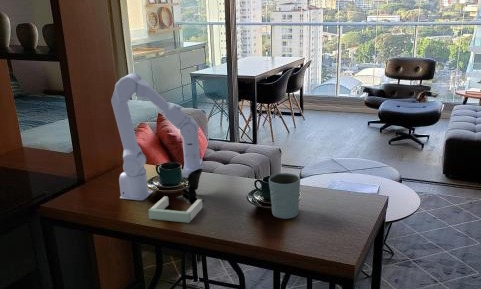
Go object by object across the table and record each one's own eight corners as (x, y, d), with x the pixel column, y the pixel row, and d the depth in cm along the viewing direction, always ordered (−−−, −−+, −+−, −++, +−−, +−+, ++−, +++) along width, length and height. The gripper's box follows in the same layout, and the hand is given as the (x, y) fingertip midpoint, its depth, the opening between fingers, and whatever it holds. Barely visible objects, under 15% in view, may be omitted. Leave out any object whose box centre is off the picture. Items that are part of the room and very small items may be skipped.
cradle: (149, 218, 152) (148, 210, 151) (164, 204, 162) (164, 196, 161) (189, 222, 148) (188, 214, 147) (202, 207, 158) (201, 199, 157)
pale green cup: (281, 222, 145) (281, 186, 142) (263, 211, 153) (262, 177, 150) (307, 213, 150) (306, 179, 147) (287, 203, 158) (287, 170, 155)
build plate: (171, 198, 169) (170, 186, 167) (188, 192, 173) (187, 181, 172) (191, 208, 159) (190, 195, 158) (208, 201, 164) (207, 189, 163)
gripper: (194, 160, 157) (197, 197, 161) (209, 148, 171) (211, 182, 174) (175, 159, 159) (178, 196, 163) (191, 147, 173) (194, 181, 177)
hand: (194, 189), depth 169 cm, fingers closed
